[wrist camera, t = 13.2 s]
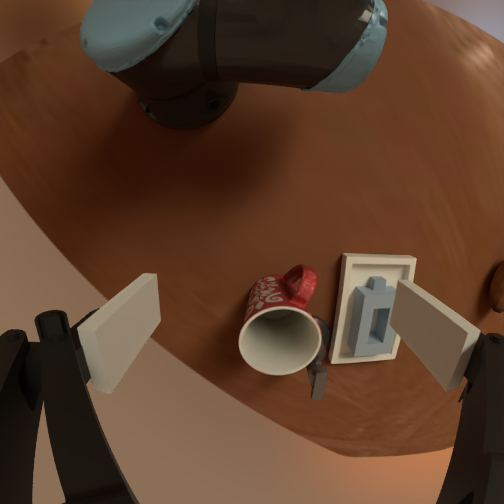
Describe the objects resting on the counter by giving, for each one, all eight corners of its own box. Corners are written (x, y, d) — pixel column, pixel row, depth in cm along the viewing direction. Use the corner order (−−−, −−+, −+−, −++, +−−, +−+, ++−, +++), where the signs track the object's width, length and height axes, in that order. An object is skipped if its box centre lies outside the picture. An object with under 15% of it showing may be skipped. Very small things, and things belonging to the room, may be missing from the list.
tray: (342, 253, 41) (346, 256, 39) (410, 255, 41) (416, 258, 39) (328, 356, 45) (331, 363, 43) (390, 352, 45) (394, 358, 43)
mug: (284, 333, 44) (294, 386, 31) (233, 309, 43) (224, 357, 30) (326, 266, 42) (355, 299, 28) (273, 237, 41) (282, 259, 28)
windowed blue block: (381, 341, 44) (389, 353, 40) (347, 344, 44) (354, 356, 40) (393, 276, 41) (404, 283, 37) (357, 276, 41) (366, 284, 37)
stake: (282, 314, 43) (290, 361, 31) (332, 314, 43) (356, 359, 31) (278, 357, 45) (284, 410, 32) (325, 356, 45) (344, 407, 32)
